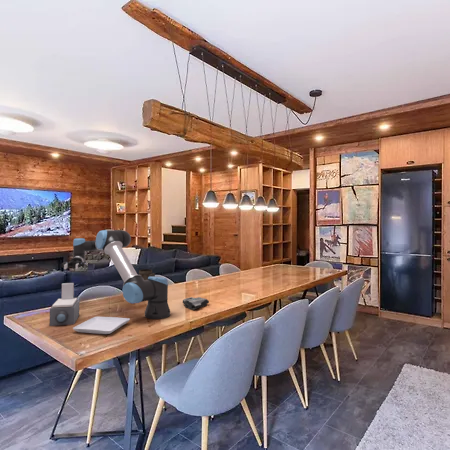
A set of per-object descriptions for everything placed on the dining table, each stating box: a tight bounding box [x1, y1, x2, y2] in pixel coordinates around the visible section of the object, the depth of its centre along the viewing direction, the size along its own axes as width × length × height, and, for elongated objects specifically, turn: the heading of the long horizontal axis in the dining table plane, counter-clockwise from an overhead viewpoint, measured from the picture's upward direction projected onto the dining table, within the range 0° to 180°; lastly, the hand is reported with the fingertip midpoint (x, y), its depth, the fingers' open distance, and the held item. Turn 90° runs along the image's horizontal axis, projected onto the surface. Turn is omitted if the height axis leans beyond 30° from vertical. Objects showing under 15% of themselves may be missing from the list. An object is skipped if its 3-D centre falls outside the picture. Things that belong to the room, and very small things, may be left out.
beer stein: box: [138, 268, 156, 280], centre depth 245 cm, size 15×11×20 cm
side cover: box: [51, 282, 78, 307], centre depth 182 cm, size 16×10×10 cm, turn 16°
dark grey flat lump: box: [182, 296, 210, 311], centre depth 216 cm, size 16×20×5 cm
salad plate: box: [72, 315, 131, 335], centre depth 169 cm, size 21×21×3 cm
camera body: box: [49, 299, 80, 327], centre depth 181 cm, size 20×12×9 cm, turn 16°
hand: (70, 266), depth 197 cm, fingers open, 6 cm apart
